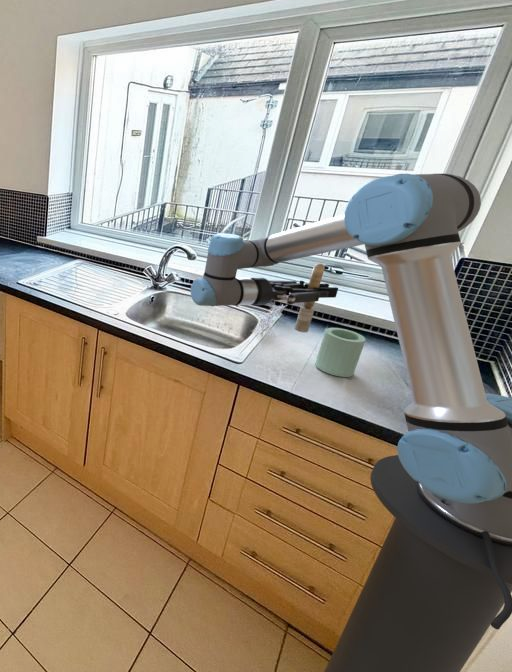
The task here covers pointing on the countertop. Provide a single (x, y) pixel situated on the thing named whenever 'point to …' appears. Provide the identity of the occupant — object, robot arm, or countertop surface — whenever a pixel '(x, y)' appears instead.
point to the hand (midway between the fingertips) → (331, 290)
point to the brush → (307, 307)
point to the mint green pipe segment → (340, 352)
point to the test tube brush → (268, 319)
